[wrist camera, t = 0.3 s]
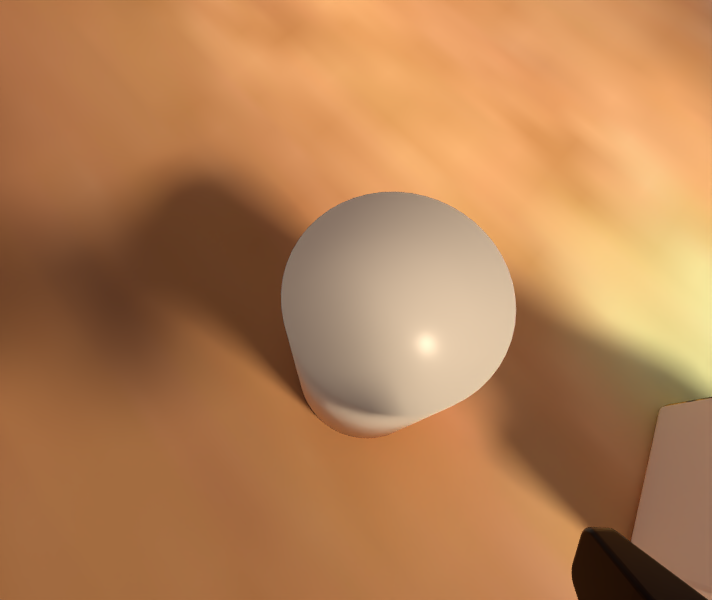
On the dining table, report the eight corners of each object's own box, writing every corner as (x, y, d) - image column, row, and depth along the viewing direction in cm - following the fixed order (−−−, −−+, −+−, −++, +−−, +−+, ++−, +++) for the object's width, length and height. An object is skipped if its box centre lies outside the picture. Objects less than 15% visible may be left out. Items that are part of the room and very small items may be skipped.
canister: (457, 393, 21) (563, 338, 12) (341, 465, 20) (358, 465, 11) (387, 284, 23) (432, 159, 14) (275, 344, 22) (239, 251, 12)
